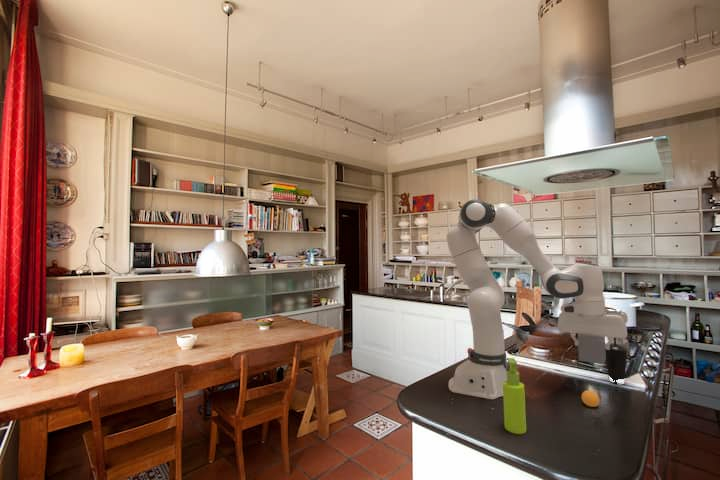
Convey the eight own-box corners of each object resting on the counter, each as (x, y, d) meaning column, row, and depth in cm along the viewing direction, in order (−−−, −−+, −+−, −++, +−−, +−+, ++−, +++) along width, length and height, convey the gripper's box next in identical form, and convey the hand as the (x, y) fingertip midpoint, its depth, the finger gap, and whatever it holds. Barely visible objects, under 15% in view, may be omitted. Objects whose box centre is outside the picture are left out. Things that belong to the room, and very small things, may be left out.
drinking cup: (634, 387, 127) (631, 333, 127) (611, 386, 128) (608, 332, 129) (622, 379, 134) (620, 328, 135) (601, 378, 136) (598, 327, 136)
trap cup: (604, 364, 115) (603, 341, 115) (579, 360, 120) (577, 338, 120) (606, 358, 121) (604, 336, 121) (581, 355, 125) (580, 333, 126)
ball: (584, 408, 112) (583, 393, 112) (580, 401, 117) (579, 387, 117) (602, 410, 110) (601, 394, 110) (597, 403, 115) (596, 388, 115)
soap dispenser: (522, 422, 104) (519, 356, 105) (528, 434, 98) (525, 364, 98) (502, 421, 106) (499, 356, 106) (506, 432, 99) (503, 363, 99)
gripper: (627, 309, 116) (629, 349, 116) (559, 304, 130) (560, 341, 129) (626, 312, 112) (629, 354, 111) (555, 306, 125) (557, 345, 124)
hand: (591, 347), depth 120 cm, fingers closed on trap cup, 7 cm apart
